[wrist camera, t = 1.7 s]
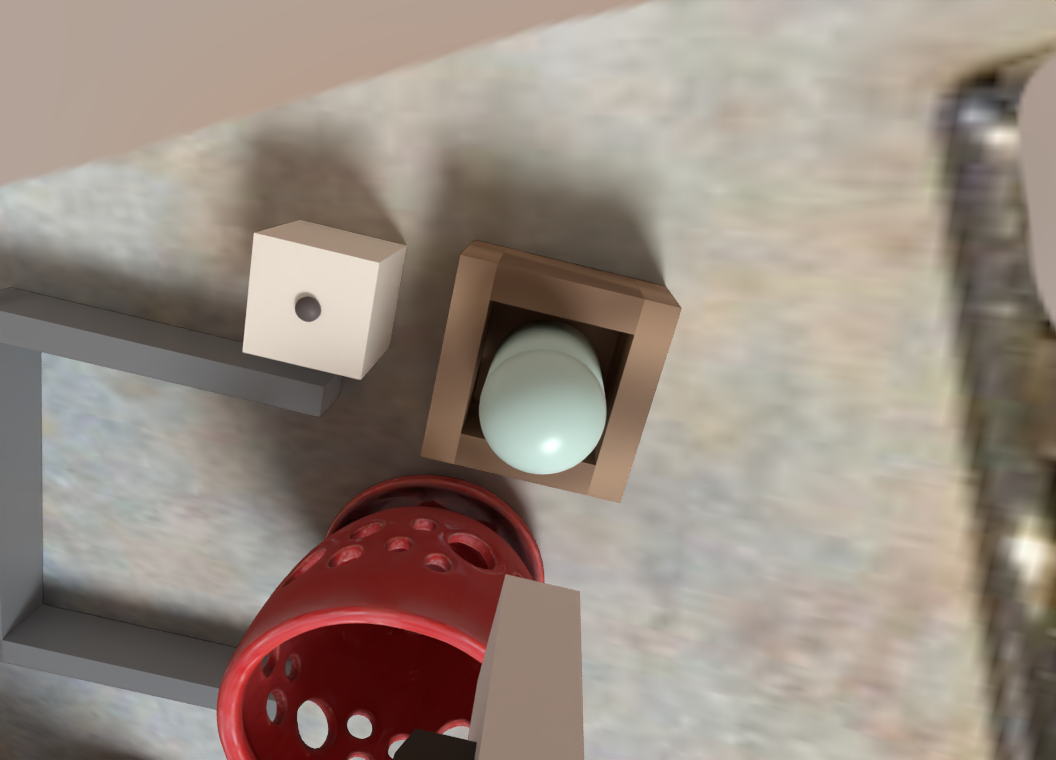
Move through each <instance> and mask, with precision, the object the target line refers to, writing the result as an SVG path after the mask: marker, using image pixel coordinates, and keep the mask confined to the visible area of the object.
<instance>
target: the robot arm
mask: <svg viewBox="0 0 1056 760" xmlns="http://www.w3.org/2000/svg"><path fill="white" fill-rule="evenodd" d="M393 760H584V736H583V697H582V658H581V619H580V591H576V590H572V589H567V588H563V587H559V586H554V585H550V584H546V583H541V582H537V581H533V580H528V579H524V578H520V577H515V576H511V575H507V574H506V575H505V579H504V582H503V586H502V590H501V594H500V598H499V602H498V605H497V609H496V613H495V617H494V621H493V624H492V628H491V632H490V636H489V640H488V643H487V647H486V651H485V655H484V659H483V663H482V666H481V670H480V674H479V678H478V682H477V688H476V694H475V700H474V706H473V712H472V718H471V724H470V730H469V735H468V740H465V739H460V738H456V737H452V736H447V735H443V734H438V733H434V732H429V731H425V730H421V729H415V730H414V731H413V732H412V733H411V734H410V736H409V737H408V738H407V739H406V740H405V742H404V743H403V744H402V745H401V746H400V748H399V749H398V750H397V751H396V752H395V754H394V758H393Z"/></svg>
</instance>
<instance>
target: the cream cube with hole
mask: <svg viewBox="0 0 1056 760" xmlns="http://www.w3.org/2000/svg"><path fill="white" fill-rule="evenodd" d="M406 248H407V245H402V244H398V243H394V242H390V241H386V240H382V239H378V238H373V237H369V236H365V235H361V234H357V233H353V232H349V231H344V230H340V229H336V228H332V227H328V226H324V225H320V224H315V223H311V222H307V221H303V220H298V221H294V222H291V223H287V224H283V225H280V226H276V227H273V228H269V229H265V230H262V231H258V232H255V233H254V238H253V248H252V258H251V269H250V279H249V289H248V300H247V310H246V320H245V331H244V341H243V351H242V352H244V353H248V354H253V355H257V356H261V357H265V358H270V359H274V360H278V361H282V362H287V363H291V364H295V365H299V366H304V367H308V368H312V369H316V370H321V371H325V372H329V373H333V374H337V375H342V376H346V377H350V378H354V379H359V380H361V379H362V378H363V377H364V376H365V374H366V373H367V372H368V371H369V370H370V369H371V368H372V366H373V365H374V364H375V363H376V362H377V361H378V360H379V358H380V357H381V356H382V355H383V354H384V353H385V352H386V350H387V349H388V348H389V347H390V341H391V335H392V329H393V324H394V318H395V312H396V306H397V300H398V294H399V289H400V283H401V277H402V271H403V265H404V260H405V254H406Z"/></svg>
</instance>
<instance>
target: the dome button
mask: <svg viewBox="0 0 1056 760" xmlns="http://www.w3.org/2000/svg"><path fill="white" fill-rule="evenodd" d="M479 418H480V424H481V428H482V432H483V434H484V437H485V439H486V441H487V442H488V444H489V446H490V447H491V449H492V450H493V451H494V452H495V454H496V455H497V456H498V457H499V458H500V459H502V460H503V461H504V462H506V463H507V464H509V465H510V466H512V467H514V468H516V469H518V470H521V471H524V472H527V473H532V474H553V473H559V472H562V471H565V470H567V469H570V468H572V467H574V466H575V465H577V464H579V463H580V462H581V461H582V460H584V459H585V458H586V457H587V456H588V455H589V454H590V453H591V452H592V451H593V449H594V448H595V446H596V445H597V443H598V441H599V440H600V438H601V435H602V432H603V430H604V426H605V422H606V399H605V393H604V387H603V380H602V374H601V367H600V362H599V358H598V355H597V352H596V350H595V348H594V346H593V345H592V343H591V342H590V341H589V339H588V338H587V337H586V336H585V335H584V334H583V333H581V332H580V331H579V330H577V329H576V328H574V327H572V326H570V325H568V324H566V323H563V322H559V321H554V320H537V321H532V322H529V323H526V324H523V325H521V326H519V327H517V328H516V329H514V330H513V331H511V332H510V333H509V334H508V335H507V336H506V337H505V338H504V339H503V340H502V341H501V343H500V344H499V346H498V348H497V350H496V352H495V354H494V357H493V360H492V363H491V366H490V369H489V372H488V375H487V378H486V381H485V384H484V387H483V390H482V393H481V397H480V404H479Z"/></svg>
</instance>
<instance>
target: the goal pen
mask: <svg viewBox="0 0 1056 760" xmlns="http://www.w3.org/2000/svg"><path fill="white" fill-rule="evenodd" d="M242 351H243V342H239V341H235V340H230V339H226V338H222V337H218V336H213V335H209V334H205V333H201V332H197V331H192V330H188V329H184V328H180V327H175V326H171V325H167V324H163V323H158V322H154V321H150V320H146V319H142V318H137V317H133V316H129V315H125V314H120V313H116V312H112V311H108V310H104V309H99V308H95V307H91V306H87V305H82V304H78V303H74V302H70V301H65V300H61V299H57V298H53V297H49V296H44V295H40V294H36V293H32V292H27V291H23V290H19V289H15V288H10V287H9V288H5V289H2V290H0V662H4V663H8V664H13V665H17V666H22V667H26V668H31V669H35V670H40V671H44V672H49V673H53V674H58V675H62V676H67V677H71V678H76V679H80V680H85V681H89V682H94V683H98V684H103V685H107V686H112V687H116V688H121V689H125V690H130V691H134V692H139V693H143V694H148V695H152V696H157V697H161V698H166V699H170V700H175V701H179V702H184V703H188V704H193V705H197V706H202V707H206V708H211V709H215V710H217V698H218V692H219V688H220V684H221V681H222V677H223V675H224V672H225V670H226V667H227V665H228V663H229V661H230V659H231V658H232V656H233V654H234V652H235V651H236V649H237V648H235V647H230V646H226V645H222V644H217V643H213V642H208V641H204V640H199V639H195V638H190V637H186V636H182V635H177V634H173V633H168V632H164V631H159V630H155V629H150V628H146V627H141V626H137V625H133V624H128V623H124V622H119V621H115V620H110V619H106V618H101V617H97V616H93V615H88V614H84V613H79V612H75V611H70V610H66V609H61V608H57V607H53V606H48V605H44V604H43V557H42V416H41V352H44V353H48V354H53V355H57V356H61V357H65V358H70V359H74V360H78V361H83V362H87V363H91V364H95V365H100V366H104V367H108V368H112V369H117V370H121V371H125V372H129V373H134V374H138V375H142V376H147V377H151V378H155V379H159V380H164V381H168V382H172V383H176V384H181V385H185V386H189V387H193V388H198V389H202V390H206V391H211V392H215V393H219V394H223V395H228V396H232V397H236V398H240V399H245V400H249V401H253V402H257V403H262V404H266V405H270V406H275V407H279V408H283V409H287V410H292V411H296V412H300V413H304V414H309V415H313V416H317V417H320V416H321V415H322V414H323V413H324V412H325V411H326V409H327V408H328V407H329V406H330V405H331V404H332V403H333V402H334V401H335V400H336V398H337V397H338V396H339V395H340V392H341V385H342V379H343V376H342V375H337V374H333V373H329V372H325V371H321V370H316V369H312V368H308V367H304V366H299V365H295V364H291V363H287V362H282V361H278V360H274V359H270V358H265V357H261V356H257V355H253V354H248V353H244V352H242ZM267 656H268V655H266V656H265V657H264V658H263V661H262V669H263V668H264V666H265V664H266V660H267ZM290 669H291V661H290V660H288V659H287V662H286V675H287V677H288V675H289V673H290ZM266 709H267V713H268V716H269V718H270V720H271V721H272V722H273V720H274V719H275V716H276V701H275V698H274V695H273V694H272V693H270V694H269V696H268V700H267V707H266Z"/></svg>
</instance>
